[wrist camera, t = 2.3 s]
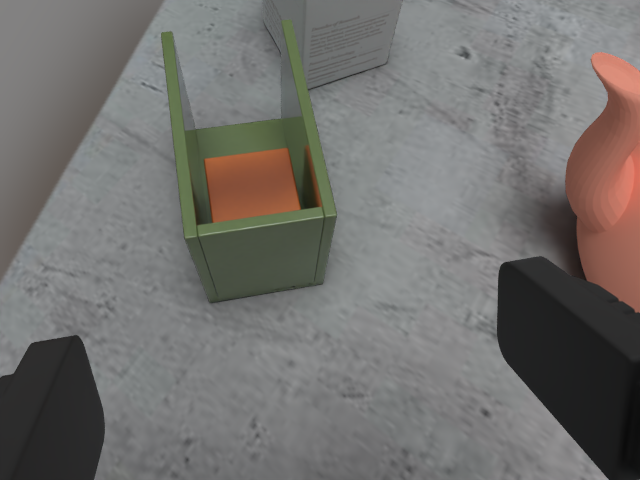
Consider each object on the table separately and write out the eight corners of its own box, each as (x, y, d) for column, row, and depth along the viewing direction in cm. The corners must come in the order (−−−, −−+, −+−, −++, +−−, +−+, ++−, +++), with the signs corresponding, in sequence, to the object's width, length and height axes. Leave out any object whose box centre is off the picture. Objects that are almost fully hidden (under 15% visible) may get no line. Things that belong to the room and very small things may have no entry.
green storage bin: (323, 284, 29) (337, 215, 22) (209, 303, 28) (184, 238, 21) (289, 123, 33) (291, 18, 25) (188, 136, 32) (160, 31, 25)
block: (300, 255, 29) (303, 222, 25) (222, 268, 28) (213, 235, 25) (287, 187, 30) (288, 146, 27) (212, 198, 30) (203, 158, 26)
